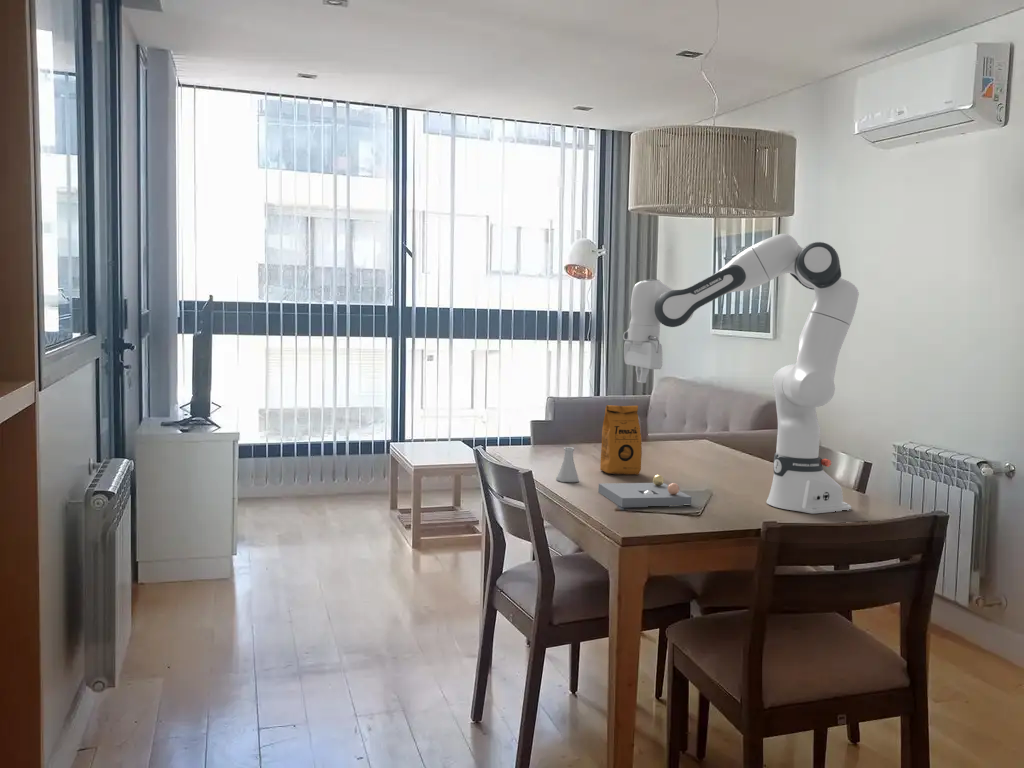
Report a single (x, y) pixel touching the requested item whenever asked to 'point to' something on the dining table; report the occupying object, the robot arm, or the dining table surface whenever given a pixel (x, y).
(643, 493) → the steel ball
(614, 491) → the seat plate
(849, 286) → the robot arm
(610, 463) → the coffee package
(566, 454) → the flask
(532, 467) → the dining table surface
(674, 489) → the terracotta ball
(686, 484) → the dining table surface
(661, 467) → the dining table surface
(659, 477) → the brass ball
